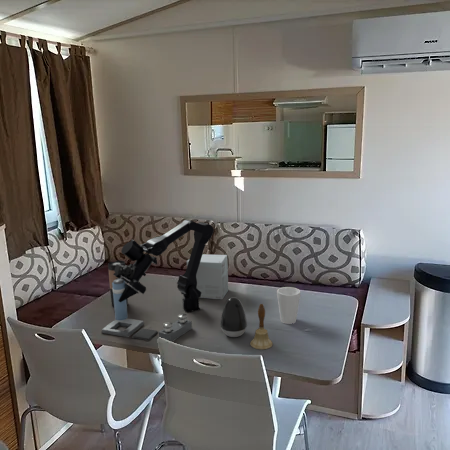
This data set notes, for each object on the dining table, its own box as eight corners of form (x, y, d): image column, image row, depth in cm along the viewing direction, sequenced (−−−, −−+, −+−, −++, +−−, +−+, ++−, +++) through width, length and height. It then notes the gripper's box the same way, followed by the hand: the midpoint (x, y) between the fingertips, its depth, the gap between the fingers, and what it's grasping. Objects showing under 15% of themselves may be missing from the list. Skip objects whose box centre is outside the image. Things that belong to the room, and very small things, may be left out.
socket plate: (143, 324, 187) (143, 320, 186) (127, 337, 176) (127, 333, 175) (119, 320, 191) (118, 317, 190) (101, 332, 180) (101, 329, 180)
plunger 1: (171, 332, 176) (171, 321, 175) (173, 336, 172) (173, 325, 171) (162, 333, 175) (162, 323, 174) (164, 337, 171) (163, 327, 170)
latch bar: (181, 325, 185) (180, 318, 184) (191, 328, 182) (191, 321, 181) (158, 339, 173) (158, 331, 172) (169, 342, 170) (169, 335, 170)
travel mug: (124, 308, 203) (120, 265, 199) (108, 307, 205) (104, 265, 200) (130, 301, 211) (127, 260, 206) (115, 300, 212) (112, 260, 208)
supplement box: (229, 289, 223) (228, 254, 219) (222, 300, 211) (221, 262, 207) (195, 287, 227) (194, 253, 223) (187, 297, 214) (185, 261, 210)
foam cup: (286, 314, 194) (286, 285, 191) (304, 320, 187) (304, 290, 184) (272, 321, 187) (272, 291, 184) (290, 327, 181) (290, 297, 178)
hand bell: (277, 345, 167) (277, 304, 164) (259, 352, 162) (259, 310, 159) (262, 336, 174) (262, 297, 170) (245, 343, 169) (245, 303, 165)
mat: (157, 332, 179) (157, 330, 179) (148, 340, 173) (148, 338, 172) (142, 330, 181) (142, 328, 181) (132, 337, 175) (132, 335, 175)
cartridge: (127, 314, 184) (124, 278, 180) (128, 319, 179) (125, 282, 176) (114, 316, 182) (111, 279, 179) (115, 321, 178) (112, 283, 174)
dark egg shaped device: (228, 342, 170) (228, 305, 166) (216, 332, 178) (215, 295, 175) (252, 336, 174) (251, 299, 171) (239, 326, 183) (238, 290, 180)
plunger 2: (186, 323, 183) (185, 313, 182) (188, 326, 180) (187, 316, 179) (177, 324, 182) (176, 314, 181) (179, 328, 179) (178, 318, 178)
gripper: (116, 251, 185) (92, 283, 181) (136, 261, 170) (111, 296, 166) (135, 265, 191) (112, 296, 187) (156, 276, 176) (132, 310, 173)
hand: (116, 299), depth 178 cm, fingers closed on cartridge, 5 cm apart
